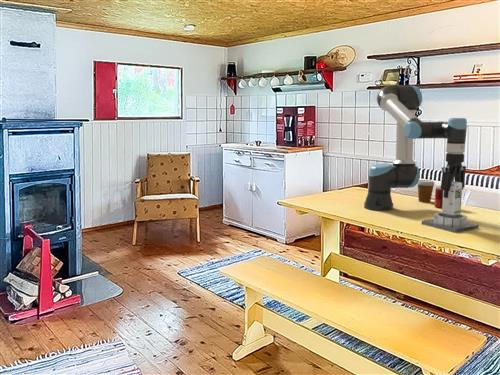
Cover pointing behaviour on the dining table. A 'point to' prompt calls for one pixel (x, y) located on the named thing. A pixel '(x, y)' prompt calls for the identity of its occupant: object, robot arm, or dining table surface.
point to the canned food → (438, 197)
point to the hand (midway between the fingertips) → (451, 204)
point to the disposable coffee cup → (425, 190)
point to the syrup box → (453, 199)
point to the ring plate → (449, 228)
